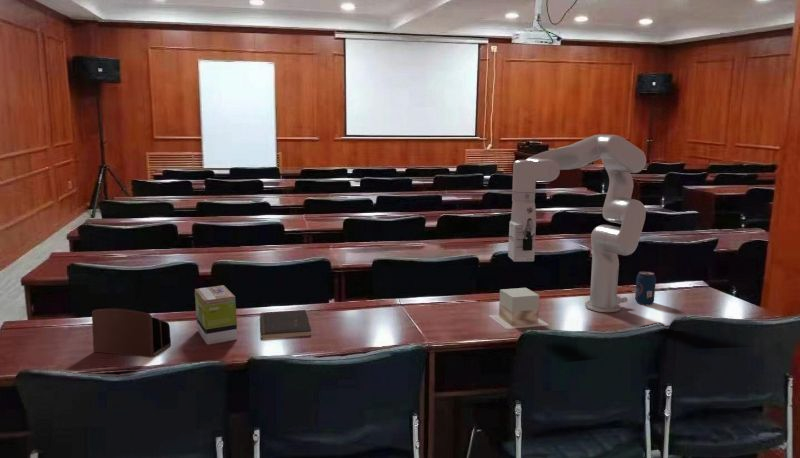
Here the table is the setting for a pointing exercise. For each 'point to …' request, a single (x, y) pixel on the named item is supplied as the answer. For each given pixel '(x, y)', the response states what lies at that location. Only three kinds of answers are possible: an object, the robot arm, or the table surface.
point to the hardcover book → (284, 324)
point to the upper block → (519, 299)
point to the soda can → (645, 287)
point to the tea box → (216, 314)
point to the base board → (508, 326)
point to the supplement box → (519, 244)
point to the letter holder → (129, 333)
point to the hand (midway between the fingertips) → (521, 247)
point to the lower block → (518, 316)
